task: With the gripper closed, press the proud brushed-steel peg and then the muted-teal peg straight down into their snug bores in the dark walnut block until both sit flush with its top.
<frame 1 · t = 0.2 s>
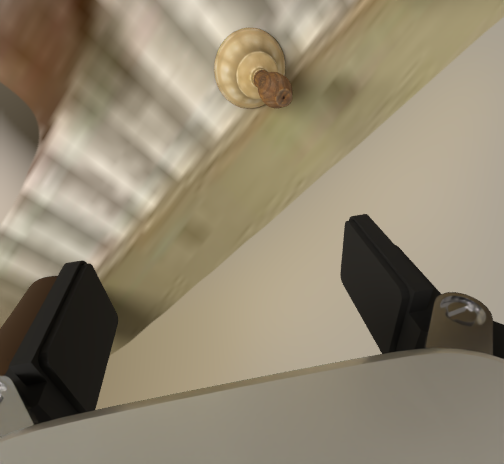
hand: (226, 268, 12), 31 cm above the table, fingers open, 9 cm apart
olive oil: (61, 296, 50), on the table
hand bell: (249, 70, 36), on the table
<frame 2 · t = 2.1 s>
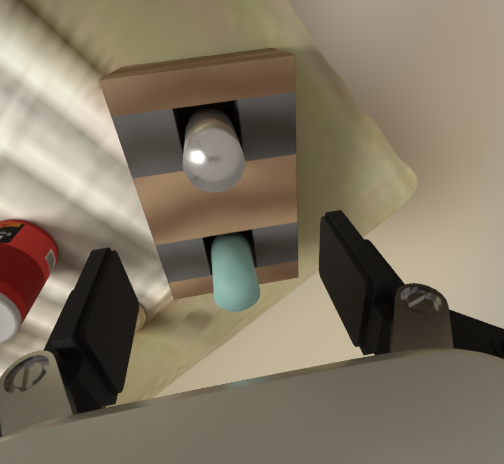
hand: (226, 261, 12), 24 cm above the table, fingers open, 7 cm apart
canned food: (24, 245, 37), on the table
socket block: (217, 168, 35), on the table
teal peg: (233, 269, 30), point 11 cm above the table, slide at 6.0 cm
steel peg: (212, 146, 23), point 10 cm above the table, slide at 6.0 cm
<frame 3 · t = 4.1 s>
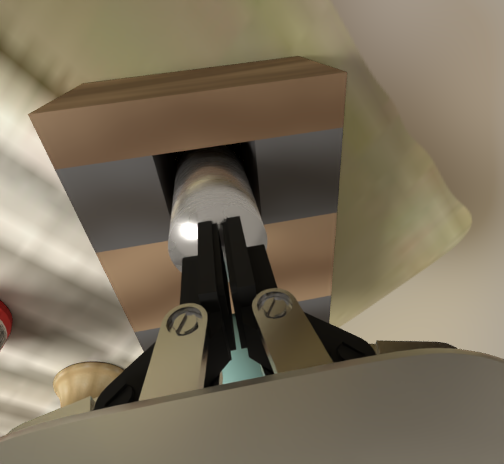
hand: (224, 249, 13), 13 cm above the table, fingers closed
socket block: (219, 213, 26), on the table
teal peg: (243, 365, 21), point 11 cm above the table, slide at 6.0 cm
steel peg: (214, 205, 15), point 9 cm above the table, slide at 4.8 cm, touching gripper
hand bell: (94, 381, 37), on the table
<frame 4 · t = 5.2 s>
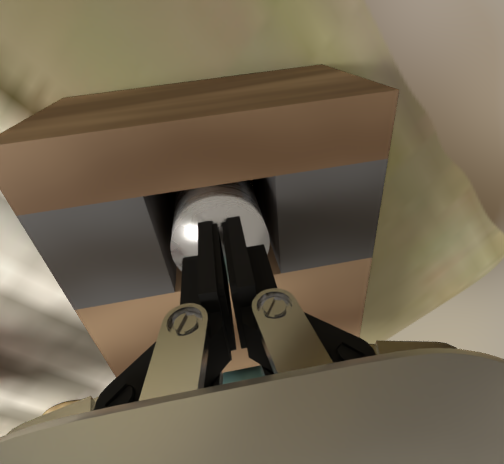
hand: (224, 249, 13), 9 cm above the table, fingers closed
socket block: (225, 243, 23), on the table
teal peg: (255, 432, 18), point 10 cm above the table, slide at 6.0 cm
steel peg: (216, 206, 15), point 5 cm above the table, slide at 0.6 cm, touching gripper
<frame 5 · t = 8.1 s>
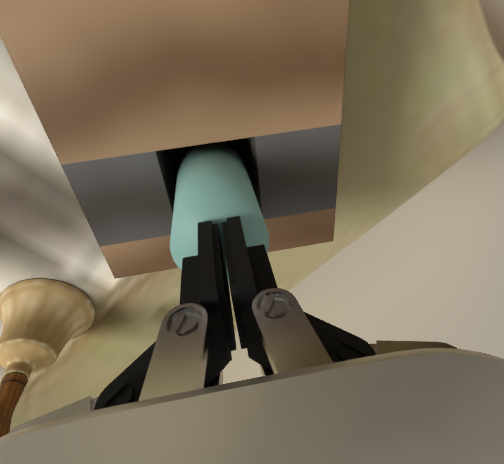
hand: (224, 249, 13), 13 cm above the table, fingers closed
socket block: (192, 50, 20), on the table
teal peg: (215, 204, 15), point 10 cm above the table, slide at 5.3 cm, touching gripper
hand bell: (49, 308, 30), on the table
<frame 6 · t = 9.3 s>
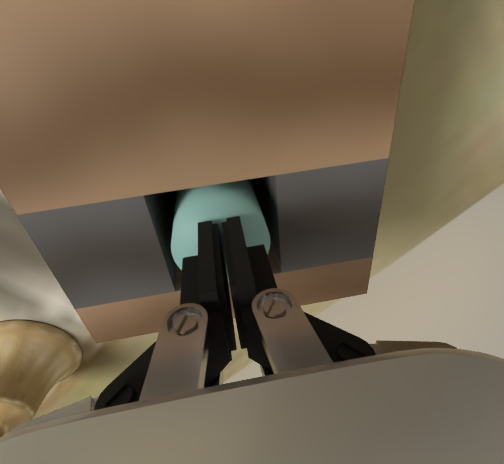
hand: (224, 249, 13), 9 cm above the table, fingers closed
socket block: (192, 58, 16), on the table
teal peg: (216, 205, 15), point 5 cm above the table, slide at 0.6 cm, touching gripper
hand bell: (29, 350, 27), on the table
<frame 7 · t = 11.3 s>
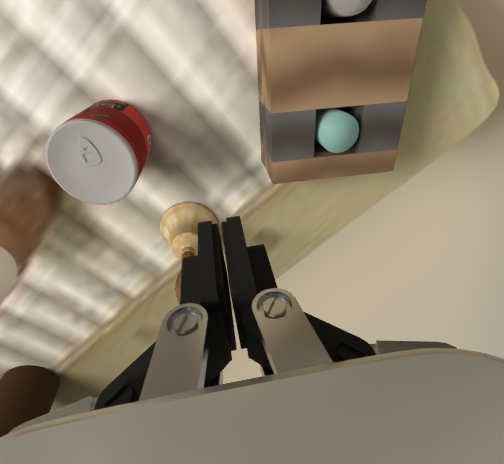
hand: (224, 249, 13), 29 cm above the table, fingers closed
canned food: (119, 133, 37), on the table
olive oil: (32, 380, 58), on the table
socket block: (317, 61, 36), on the table
teal peg: (328, 125, 35), point 5 cm above the table, slide at 0.6 cm
hand bell: (189, 226, 45), on the table
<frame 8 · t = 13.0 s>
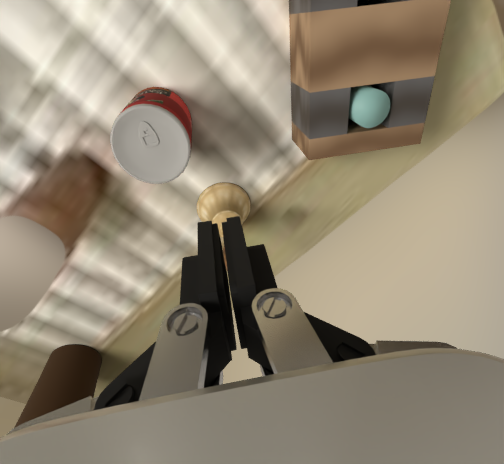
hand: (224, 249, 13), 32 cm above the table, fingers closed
canned food: (161, 119, 40), on the table
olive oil: (76, 358, 62), on the table
socket block: (346, 42, 38), on the table
teal peg: (359, 103, 37), point 5 cm above the table, slide at 0.6 cm
hand bell: (223, 206, 48), on the table
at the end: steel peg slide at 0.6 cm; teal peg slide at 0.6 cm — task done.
